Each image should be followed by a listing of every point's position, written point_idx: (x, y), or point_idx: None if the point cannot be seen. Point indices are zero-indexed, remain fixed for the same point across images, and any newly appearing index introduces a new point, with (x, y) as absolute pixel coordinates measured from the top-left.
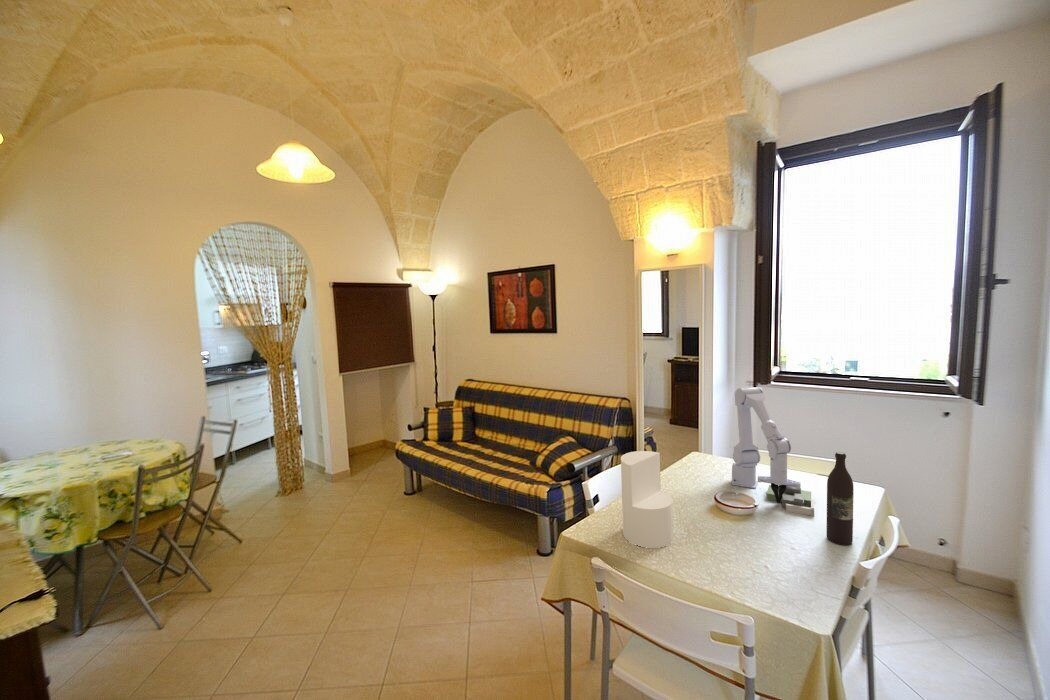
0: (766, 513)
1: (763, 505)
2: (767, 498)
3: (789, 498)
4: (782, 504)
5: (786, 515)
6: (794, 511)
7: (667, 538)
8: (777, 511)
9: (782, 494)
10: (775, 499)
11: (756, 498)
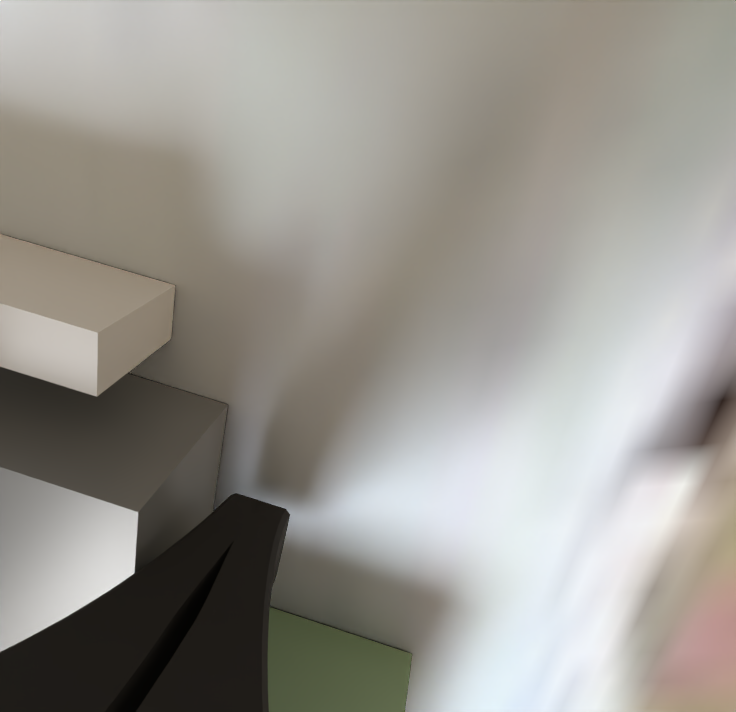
0: (592, 56)
1: (533, 452)
2: (404, 664)
3: (10, 552)
4: (194, 438)
5: (174, 67)
6: (29, 250)
7: None
8: (324, 233)
9: (64, 621)
10: (293, 634)
11: (572, 674)
